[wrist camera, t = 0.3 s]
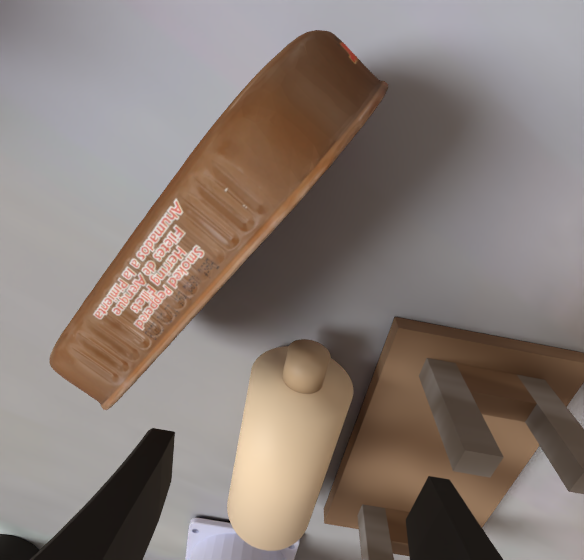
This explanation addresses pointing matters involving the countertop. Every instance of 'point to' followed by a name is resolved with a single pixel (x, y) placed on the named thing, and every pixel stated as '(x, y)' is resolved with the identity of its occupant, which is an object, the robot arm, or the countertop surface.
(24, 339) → the countertop surface
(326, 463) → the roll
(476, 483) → the holder
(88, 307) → the tin
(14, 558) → the drinking cup
